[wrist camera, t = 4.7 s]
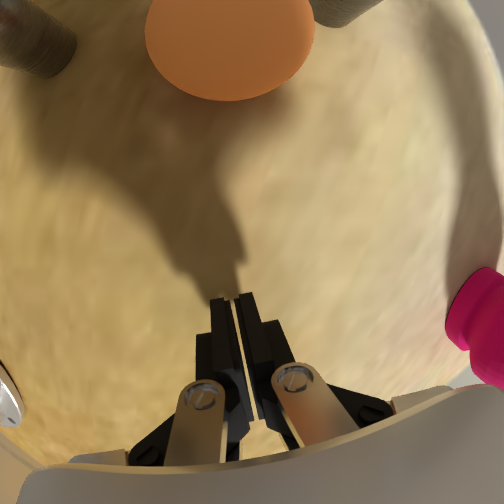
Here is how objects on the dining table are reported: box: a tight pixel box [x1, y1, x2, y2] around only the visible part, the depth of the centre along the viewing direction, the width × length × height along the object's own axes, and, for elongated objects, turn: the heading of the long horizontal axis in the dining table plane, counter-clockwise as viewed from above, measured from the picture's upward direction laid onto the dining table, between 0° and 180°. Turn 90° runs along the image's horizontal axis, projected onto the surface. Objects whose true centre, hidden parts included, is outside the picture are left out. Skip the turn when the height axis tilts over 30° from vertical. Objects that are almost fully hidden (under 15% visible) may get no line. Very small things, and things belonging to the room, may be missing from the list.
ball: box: [145, 0, 315, 101], centre depth 6 cm, size 5×5×5 cm
